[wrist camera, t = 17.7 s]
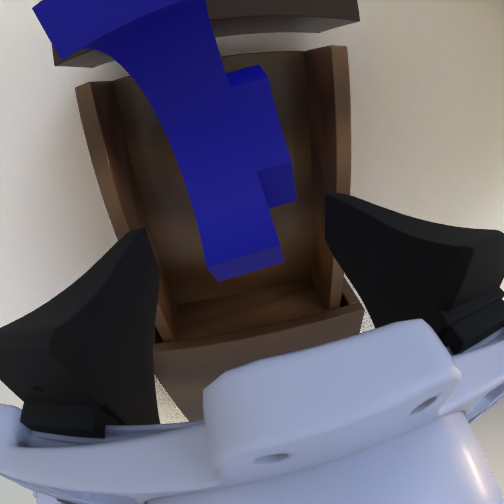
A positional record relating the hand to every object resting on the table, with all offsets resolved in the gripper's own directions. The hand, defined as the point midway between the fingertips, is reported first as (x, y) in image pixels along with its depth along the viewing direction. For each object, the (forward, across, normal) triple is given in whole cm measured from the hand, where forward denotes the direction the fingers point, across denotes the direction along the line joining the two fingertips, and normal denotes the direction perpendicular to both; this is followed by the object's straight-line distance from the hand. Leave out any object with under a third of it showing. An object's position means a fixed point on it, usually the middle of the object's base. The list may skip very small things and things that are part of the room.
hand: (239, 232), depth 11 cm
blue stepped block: (+3, 0, -6) cm, 7 cm away
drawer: (+7, 0, -2) cm, 7 cm away
